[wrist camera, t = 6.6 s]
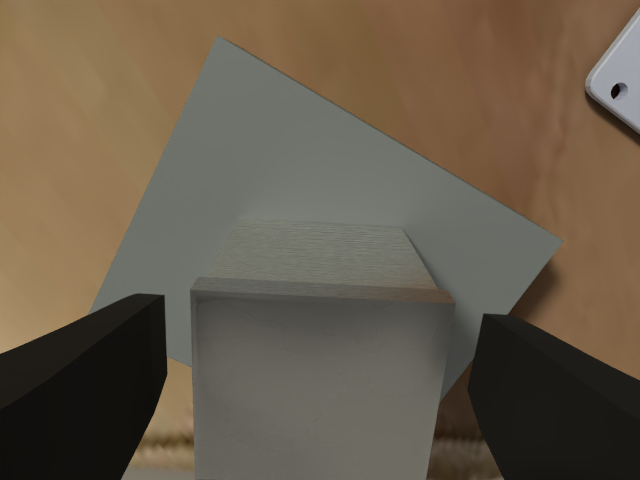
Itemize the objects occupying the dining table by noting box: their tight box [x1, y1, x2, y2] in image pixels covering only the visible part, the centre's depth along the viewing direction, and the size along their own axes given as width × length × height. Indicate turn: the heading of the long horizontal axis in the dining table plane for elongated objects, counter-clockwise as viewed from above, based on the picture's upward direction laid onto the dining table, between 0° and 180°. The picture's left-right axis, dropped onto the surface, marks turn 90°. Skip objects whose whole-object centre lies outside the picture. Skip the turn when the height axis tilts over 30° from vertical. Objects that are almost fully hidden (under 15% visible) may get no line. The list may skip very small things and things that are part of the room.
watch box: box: [88, 35, 563, 403], centre depth 16 cm, size 11×9×4 cm
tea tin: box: [190, 218, 456, 480], centre depth 12 cm, size 5×5×5 cm
